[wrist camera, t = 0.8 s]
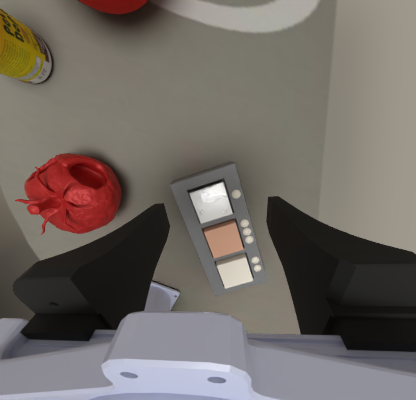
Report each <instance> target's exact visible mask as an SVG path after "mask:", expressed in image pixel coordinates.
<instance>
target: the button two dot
mask: <svg viewBox="0 0 416 400" xmlns="http://www.w3.org/2000/svg"><path fill="white" fill-rule="evenodd" d="M216 264H217V268H218V271H219V273H220V276H221V279H222V281H223V284H224V287H225V289H226V288H230V287H233V286H237V285H240V284H244V283H247V282H251V281H253V278H252V275H251V272H250V268H249V265H248V262H247V259H246V256H245V253H241V254H238V255H234V256H231V257H228V258H224V259H221V260H217V261H216Z"/></svg>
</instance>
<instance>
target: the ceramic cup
mask: <svg viewBox="0 0 416 400" xmlns="http://www.w3.org/2000/svg"><path fill="white" fill-rule="evenodd" d="M78 1H80V2H81V3H83V4H85V5H87V6H90V7H92V8H94V9H96V10H99V11H101V12H106V13H111V14H126V13H129V12H132V11H135V10H137V9H139V8H140V7H142V6H143V5H144V4H145V3H146V2H147V1H148V0H78Z"/></svg>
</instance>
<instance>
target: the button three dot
mask: <svg viewBox="0 0 416 400" xmlns="http://www.w3.org/2000/svg"><path fill="white" fill-rule="evenodd" d="M204 234H205V236H206V239H207V242H208V244H209V247H210V250H211V252H212V255H213V257H214V258H218V257H221V256H224V255H228V254H231V253H234V252H238V251H241V250H244V249H243V246H242V242H241V239H240V236H239V233H238V229H237V226H236V223H235V220H234V218H233V219H230V220H227V221H224V222H221V223H217V224H214V225H211V226H208V227H205V228H204Z"/></svg>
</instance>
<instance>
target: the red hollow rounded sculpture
mask: <svg viewBox="0 0 416 400" xmlns="http://www.w3.org/2000/svg"><path fill="white" fill-rule="evenodd" d="M35 168H36V169H37V171H35V172H34V173H32V174H31V176H30V177H29V178H28V179H27V180H26V182H25V192H26V195H27V197H28V198H29V200H23V199H17V200H15V201H20V202H23V203H25V204H30V205H29V206H27V210H28V211H29V213H30V214H36V215H38V214H40V215H41V216H42V217H43V218H45V221H44V223H43V224H42V229H43V232H42V234H43V233H44V232H45V224H46V223H47V221H49V222H50V223H51V224H53V225H55V226H56V227H57V228H59V229H61V230H64V231H69V232H72V233H77V234H83V233H87V232H90V231H92V230H95V229H98V228H100V227H102V226H105V225H107V224H108V223H109V222H111V221H112V220H113V219H114V217H115V215H116V212H117V210H118V208H119V205H120V201H121V195H122V191H121V187H120V184H119V182H118V179H117V177H116V175H115V174H114V172H113V170H112V169H111V168H110V167H109V166H107V165H106V164H104V163H103V162H101V161H99V160H97V159H94V158H92V157H87V156H83V155H77V154H71V153H68V154H60V155H56V156H55V158H52V159H50V160H49V161H48V162H47V163H46V164H44V165H43V166H41V167H40V168H37V167H35ZM42 234H41V235H42Z"/></svg>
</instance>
